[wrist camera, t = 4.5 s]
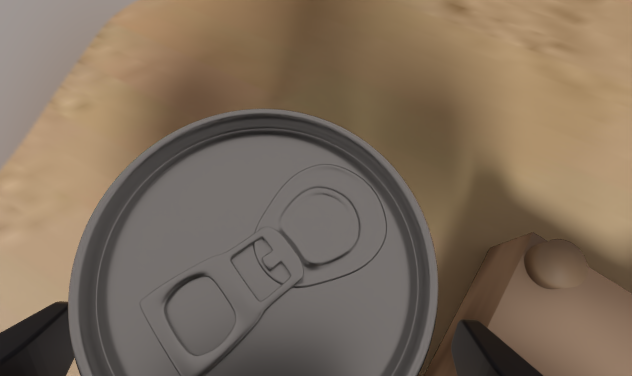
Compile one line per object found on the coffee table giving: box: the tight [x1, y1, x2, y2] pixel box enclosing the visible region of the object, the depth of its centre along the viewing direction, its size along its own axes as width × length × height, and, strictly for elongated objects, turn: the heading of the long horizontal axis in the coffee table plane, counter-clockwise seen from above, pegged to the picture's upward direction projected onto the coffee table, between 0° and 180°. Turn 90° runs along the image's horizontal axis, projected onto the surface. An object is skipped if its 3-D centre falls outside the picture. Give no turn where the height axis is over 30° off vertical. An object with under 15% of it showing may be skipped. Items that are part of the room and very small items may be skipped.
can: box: [68, 109, 438, 376], centre depth 11 cm, size 6×6×12 cm
